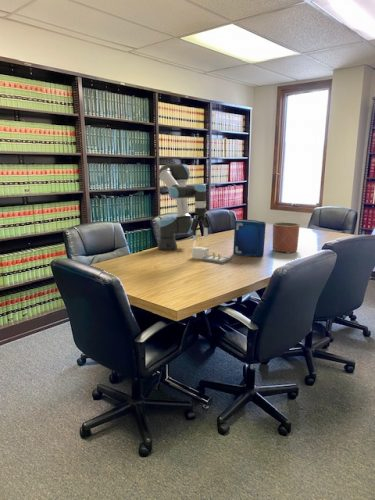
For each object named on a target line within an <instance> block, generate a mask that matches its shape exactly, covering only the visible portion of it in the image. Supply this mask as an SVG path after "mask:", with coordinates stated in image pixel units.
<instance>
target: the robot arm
mask: <svg viewBox="0 0 375 500" xmlns="http://www.w3.org/2000/svg"><path fill="white" fill-rule="evenodd" d="M190 172H191V171H190V169H189V166H188V165H187V164H183V163H176V164H174V163H172V164H171V163H168V164H164V165H163V166H161V167H160V168H159V170H158V174H157V175H158V178H159V179H160V181H161V182H163V183H164V185H165V186H166V187H167V189H168V196H169V198H171V199H176V200H175V201H176V209H177V210H176V211H177V212H176V213H177V215H176V217H164V218H162V219H160V220H159V225H158V226H159V239H158V240H159V241H158V243H157V249H158V250H159V251H174V250H177V249H178V244H177V241H176V235H187V234H192V239H193V241H198V230H197V229H198V228H199V224H200V223H201V222H202V223H201V224H202V225H203V226H204V227H203V237H204V238H208V236H209V235H208V234H209V233H208V231H209V230H208V228H210V226H211V225H210V221H209V217H208V213H207V208H206V207H207V186H206V184H205V183H196V184H194V185H193V186H187V183H188V181H189V179H190V177H191V176H190V175H191V173H190ZM188 198H189V199H190V198H191V199H192V198H194V207H195V208H194V213H195V214H196V215H193V218H192V216H191V214H189V202H188Z"/></svg>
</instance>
